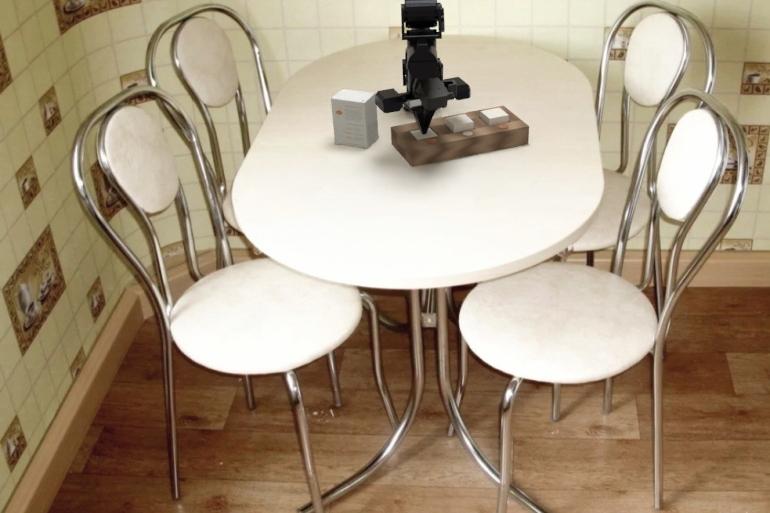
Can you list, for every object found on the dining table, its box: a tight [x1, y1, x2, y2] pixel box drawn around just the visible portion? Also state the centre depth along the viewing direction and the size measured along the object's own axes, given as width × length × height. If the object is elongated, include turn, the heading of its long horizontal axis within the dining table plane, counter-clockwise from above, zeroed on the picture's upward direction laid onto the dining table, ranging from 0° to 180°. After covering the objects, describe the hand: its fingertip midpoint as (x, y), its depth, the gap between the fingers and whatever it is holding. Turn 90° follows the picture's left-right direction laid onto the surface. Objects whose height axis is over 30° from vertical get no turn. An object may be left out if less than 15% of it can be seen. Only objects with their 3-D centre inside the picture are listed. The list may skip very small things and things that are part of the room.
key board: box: [390, 105, 530, 168], centre depth 199 cm, size 26×12×4 cm, turn 110°
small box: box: [330, 88, 380, 149], centre depth 201 cm, size 8×6×10 cm
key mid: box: [445, 114, 474, 133], centre depth 198 cm, size 4×4×3 cm
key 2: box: [480, 108, 509, 126], centre depth 201 cm, size 4×4×3 cm
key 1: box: [410, 128, 438, 140], centre depth 197 cm, size 4×4×3 cm
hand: (423, 133), depth 196 cm, fingers closed, pressing on key 1
